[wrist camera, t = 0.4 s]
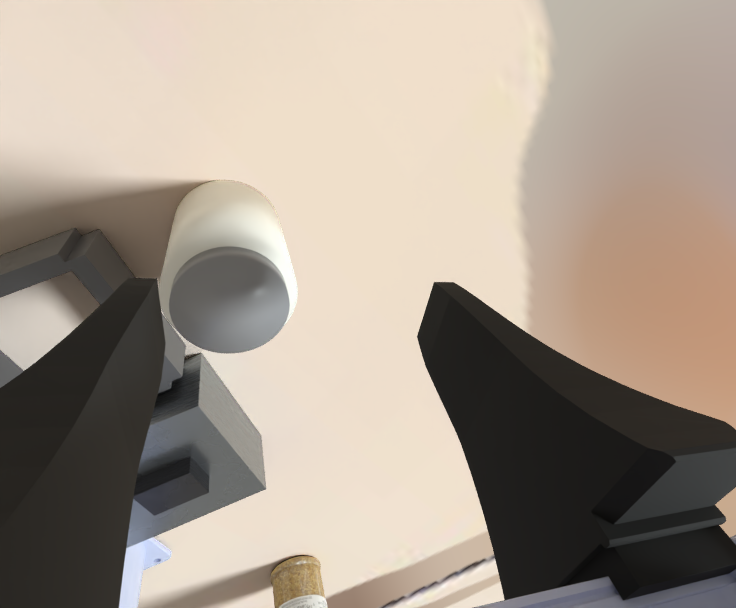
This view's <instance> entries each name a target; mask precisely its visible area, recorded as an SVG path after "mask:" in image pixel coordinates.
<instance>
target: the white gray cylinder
mask: <svg viewBox="0 0 736 608" xmlns="http://www.w3.org/2000/svg"><path fill="white" fill-rule="evenodd" d="M297 294H298V291H297V282H296V278H295V274H294V271H293V267H292V264H291V260H290V257H289V253H288V250H287V246H286V242H285V239H284V235H283V232H282V228H281V225H280V221H279V218H278V215H277V212H276V210H275V208H274V206H273V205H272V204H271V202H270V201H269V200H268V199H267V198H266V196H264V195H263V194H262V193H261V192H260V191H258V190H257V189H255V188H253V187H251V186H249V185H247V184H244V183H241V182H237V181H232V180H217V181H211V182H207V183H204V184H202V185H200V186H198V187H196V188H194V189H193V190H191V191H190V192H189V193H188V194H187V195H186V196H185V197H184V198H183V199H182V201H181V202H180V204H179V205H178V208H177V210H176V213H175V217H174V221H173V226H172V230H171V234H170V239H169V243H168V247H167V252H166V256H165V261H164V265H163V269H162V274H161V278H160V282H159V299H160V305H161V309H162V311H163V313H164V315H165V317H166V318H167V320H168V321H169V323H170V324H171V325H172V326H173V327H174V328H175V329H176V330H177V331H178V332H179V333H180V334H181V335H182V336H183V337H184V338H185V339H186V340H188V341H189V342H191V343H192V344H194V345H196V346H198V347H200V348H202V349H205V350H208V351H212V352H217V353H240V352H245V351H249V350H252V349H255V348H257V347H260V346H262V345H264V344H265V343H267V342H268V341H270V340H271V339H272V338H274V337H275V336H276V335H277V334H278V333H279V331H280V330H281V329H282V327H283V326H284V325H285V324H286V322H287V321H288V320H289V318H290V317H291V315H292V313H293V311H294V308H295V306H296V302H297Z"/></svg>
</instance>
